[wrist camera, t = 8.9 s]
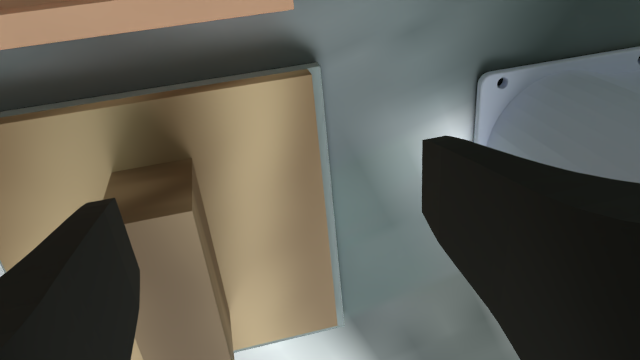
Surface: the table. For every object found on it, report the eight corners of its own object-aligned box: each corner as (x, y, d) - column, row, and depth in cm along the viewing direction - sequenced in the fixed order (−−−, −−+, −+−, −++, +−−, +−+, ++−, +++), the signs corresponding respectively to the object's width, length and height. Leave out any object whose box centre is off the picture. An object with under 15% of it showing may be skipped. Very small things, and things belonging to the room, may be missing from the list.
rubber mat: (317, 62, 20) (320, 66, 19) (341, 318, 27) (344, 326, 26) (-62, 121, 18) (-70, 127, 17) (69, 382, 25) (66, 392, 24)
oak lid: (307, 69, 19) (339, 110, 15) (333, 314, 26) (361, 391, 22) (-55, 126, 17) (-131, 191, 13) (70, 377, 24) (45, 474, 20)
